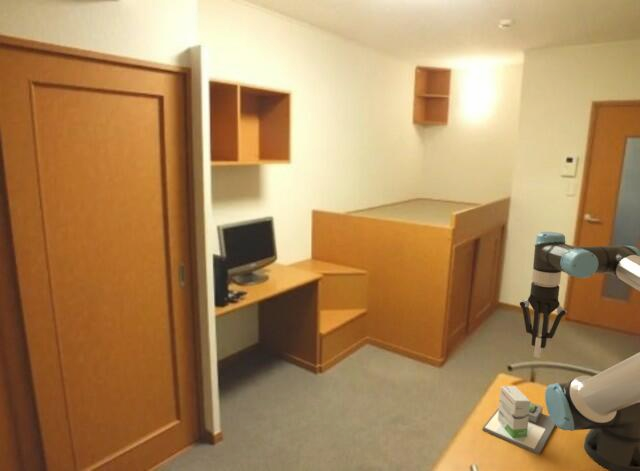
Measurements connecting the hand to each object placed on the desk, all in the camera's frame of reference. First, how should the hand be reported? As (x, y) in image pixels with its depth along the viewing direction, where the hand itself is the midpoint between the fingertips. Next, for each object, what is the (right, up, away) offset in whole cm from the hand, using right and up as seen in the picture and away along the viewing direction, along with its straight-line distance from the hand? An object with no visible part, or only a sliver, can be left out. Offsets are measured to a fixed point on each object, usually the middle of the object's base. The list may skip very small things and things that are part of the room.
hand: (537, 356), depth 132 cm
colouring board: (-5, -21, 0) cm, 22 cm away
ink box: (-9, -21, -3) cm, 23 cm away
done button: (-1, -19, +4) cm, 20 cm away
